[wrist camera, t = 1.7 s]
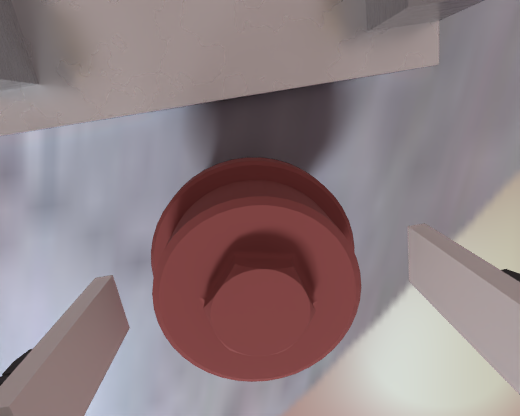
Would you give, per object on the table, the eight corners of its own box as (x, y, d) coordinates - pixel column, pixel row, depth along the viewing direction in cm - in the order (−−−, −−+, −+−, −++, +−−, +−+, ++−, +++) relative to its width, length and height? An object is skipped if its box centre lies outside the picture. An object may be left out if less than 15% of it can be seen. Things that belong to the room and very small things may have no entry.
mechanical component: (178, 273, 25) (180, 138, 22) (308, 278, 26) (325, 149, 23) (125, 420, 13) (113, 170, 10) (369, 420, 14) (420, 189, 11)
